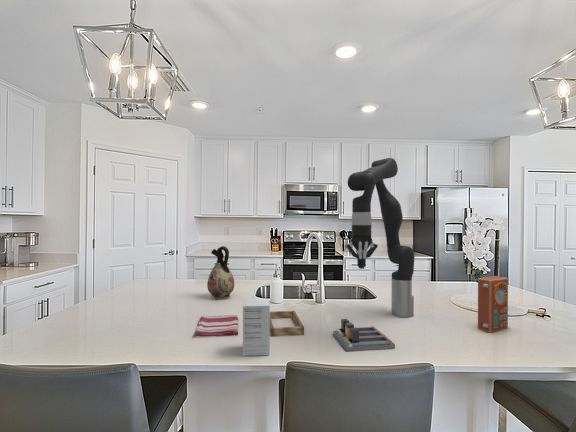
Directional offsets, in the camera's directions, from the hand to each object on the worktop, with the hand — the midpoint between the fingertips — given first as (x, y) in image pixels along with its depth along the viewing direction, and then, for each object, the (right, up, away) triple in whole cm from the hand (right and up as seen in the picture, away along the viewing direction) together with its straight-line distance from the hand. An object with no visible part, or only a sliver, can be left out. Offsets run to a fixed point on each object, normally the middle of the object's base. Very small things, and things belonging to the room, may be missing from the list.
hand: (361, 268), depth 127 cm
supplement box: (-40, -27, -13) cm, 50 cm away
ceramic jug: (-67, -27, +60) cm, 94 cm away
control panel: (+58, -27, +11) cm, 65 cm away
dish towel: (-58, -27, +12) cm, 66 cm away
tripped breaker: (-6, -25, -5) cm, 26 cm away
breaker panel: (-1, -27, -4) cm, 27 cm away
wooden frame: (-30, -27, +13) cm, 42 cm away
